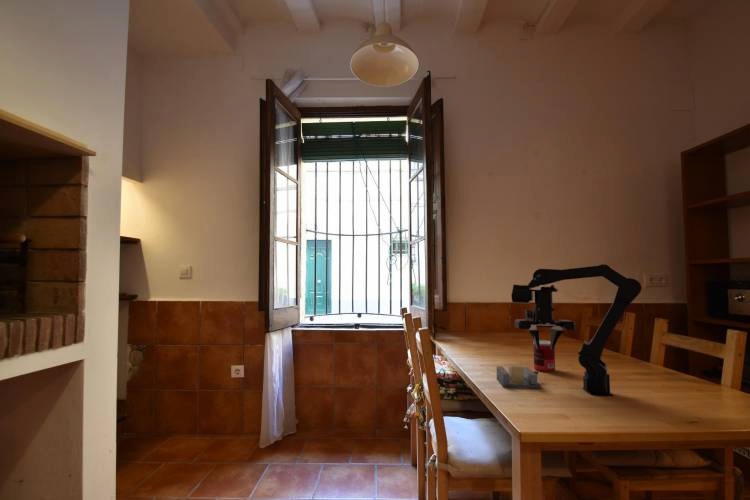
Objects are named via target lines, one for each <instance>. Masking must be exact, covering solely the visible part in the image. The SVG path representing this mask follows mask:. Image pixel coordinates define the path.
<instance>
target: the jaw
mask: <svg viewBox="0 0 750 500" xmlns="http://www.w3.org/2000/svg"><path fill="white" fill-rule="evenodd" d="M523 367H524V378H525V379H526V380H527V381H529V382H530V383H531V384H537V382H538V375H539V371H537V370H535V371H533V370H532V369H530V368H529V367H528V366H526V367H525V366H523Z"/></svg>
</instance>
